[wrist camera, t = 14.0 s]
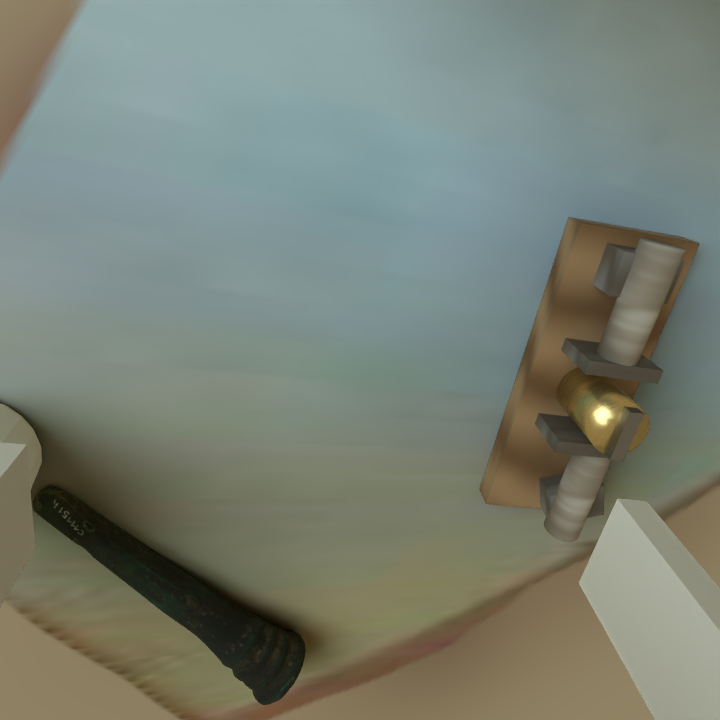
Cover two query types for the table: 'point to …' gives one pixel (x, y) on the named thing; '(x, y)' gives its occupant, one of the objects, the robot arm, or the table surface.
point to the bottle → (21, 438)
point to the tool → (184, 599)
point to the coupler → (603, 413)
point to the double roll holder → (582, 365)
